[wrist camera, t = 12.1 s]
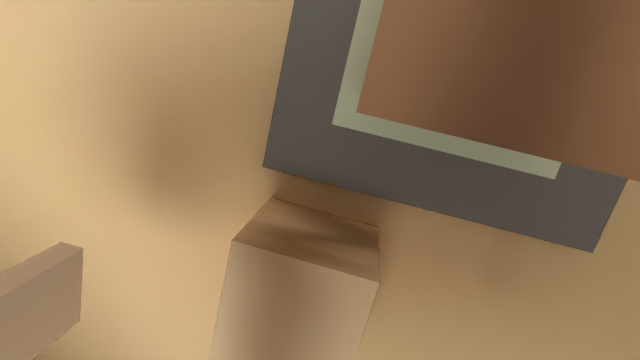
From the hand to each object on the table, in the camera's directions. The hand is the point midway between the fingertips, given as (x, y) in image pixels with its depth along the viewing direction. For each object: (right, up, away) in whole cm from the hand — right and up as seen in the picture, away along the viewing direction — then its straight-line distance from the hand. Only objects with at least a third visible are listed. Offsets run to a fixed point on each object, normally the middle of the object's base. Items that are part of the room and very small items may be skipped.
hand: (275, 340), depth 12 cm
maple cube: (+1, +1, +6) cm, 6 cm away
